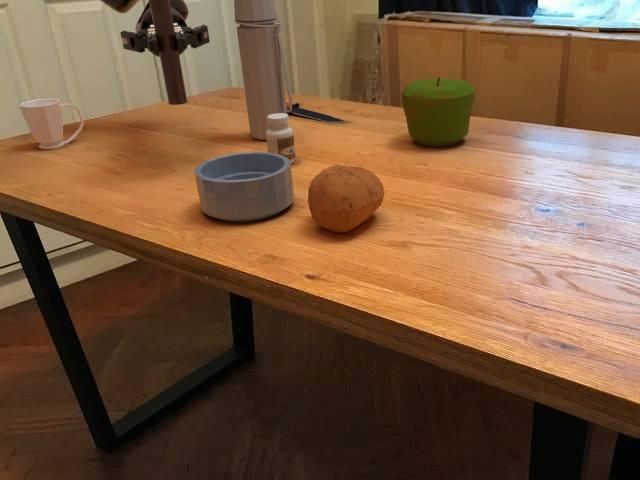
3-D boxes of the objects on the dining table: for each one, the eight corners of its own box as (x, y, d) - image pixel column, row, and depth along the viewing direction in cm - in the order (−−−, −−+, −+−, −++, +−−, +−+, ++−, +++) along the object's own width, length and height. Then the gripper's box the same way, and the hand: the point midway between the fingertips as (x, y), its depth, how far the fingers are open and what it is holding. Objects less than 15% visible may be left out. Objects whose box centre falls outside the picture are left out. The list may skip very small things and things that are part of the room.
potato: (291, 228, 86) (285, 173, 82) (348, 201, 93) (344, 150, 90) (345, 245, 80) (341, 186, 77) (400, 215, 88) (399, 161, 84)
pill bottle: (285, 167, 108) (280, 120, 104) (264, 164, 109) (258, 117, 106) (301, 159, 111) (296, 113, 107) (280, 156, 113) (275, 111, 109)
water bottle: (241, 140, 123) (221, -7, 111) (265, 129, 129) (248, -11, 117) (283, 144, 119) (266, -7, 107) (306, 133, 125) (292, -11, 113)
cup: (27, 145, 124) (14, 102, 121) (82, 135, 130) (71, 93, 126) (35, 153, 119) (22, 108, 116) (92, 143, 124) (81, 99, 121)
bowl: (208, 231, 85) (200, 187, 83) (197, 199, 96) (189, 159, 93) (304, 215, 89) (300, 172, 86) (283, 186, 100) (278, 147, 97)
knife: (337, 134, 130) (353, 124, 133) (335, 121, 129) (351, 111, 132) (249, 110, 144) (265, 101, 147) (246, 98, 142) (263, 90, 145)
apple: (475, 132, 122) (477, 69, 116) (471, 152, 111) (473, 83, 106) (408, 131, 124) (407, 69, 118) (398, 150, 113) (396, 83, 108)
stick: (169, 105, 100) (147, -10, 92) (167, 102, 103) (146, -11, 95) (188, 103, 101) (168, -11, 93) (186, 99, 103) (166, -12, 96)
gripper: (114, 9, 106) (110, 21, 91) (203, 3, 110) (213, 14, 95) (125, 58, 110) (122, 77, 95) (211, 51, 113) (221, 68, 99)
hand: (167, 45), depth 95 cm, fingers closed on stick, 2 cm apart
